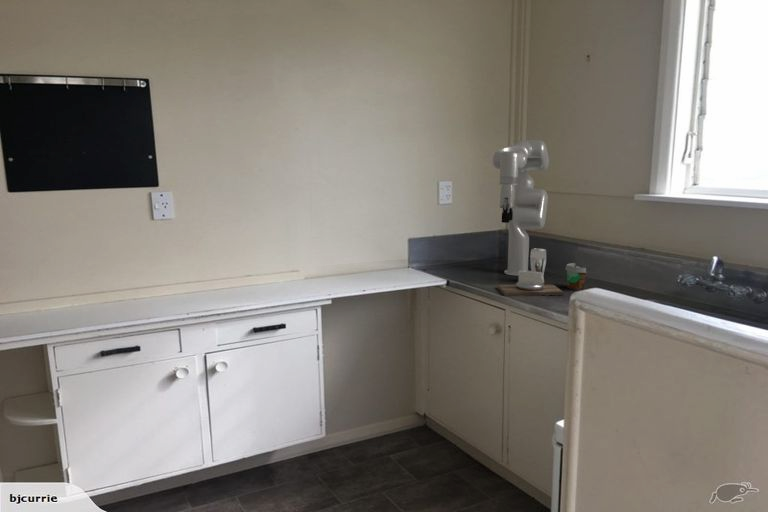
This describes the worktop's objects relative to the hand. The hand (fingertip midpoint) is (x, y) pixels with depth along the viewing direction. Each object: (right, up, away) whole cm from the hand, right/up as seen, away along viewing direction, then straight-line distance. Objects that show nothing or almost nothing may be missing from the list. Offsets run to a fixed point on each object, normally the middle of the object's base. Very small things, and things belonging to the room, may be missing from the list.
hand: (507, 221), depth 262 cm
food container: (+28, -29, 0) cm, 40 cm away
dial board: (+8, -30, -7) cm, 32 cm away
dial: (+8, -28, -7) cm, 30 cm away
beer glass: (+16, -27, +12) cm, 33 cm away
